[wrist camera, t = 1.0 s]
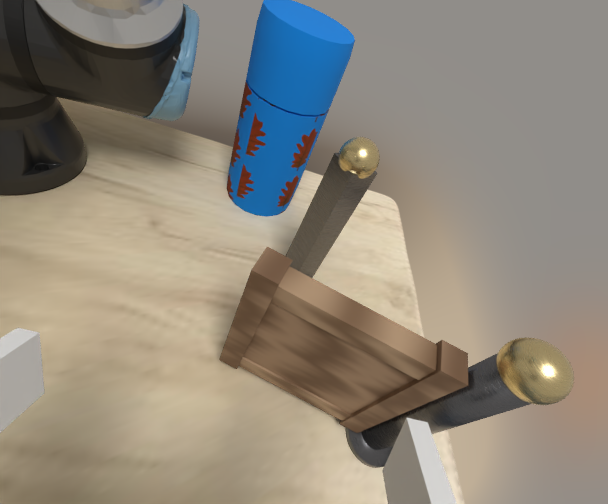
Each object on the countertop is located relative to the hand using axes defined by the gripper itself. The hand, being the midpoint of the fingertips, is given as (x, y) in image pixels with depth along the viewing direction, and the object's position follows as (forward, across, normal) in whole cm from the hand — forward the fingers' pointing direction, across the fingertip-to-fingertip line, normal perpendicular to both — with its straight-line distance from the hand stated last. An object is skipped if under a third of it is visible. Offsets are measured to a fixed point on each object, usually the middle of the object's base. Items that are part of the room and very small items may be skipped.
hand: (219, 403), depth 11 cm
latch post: (+30, +1, -9) cm, 31 cm away
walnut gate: (+17, +4, -15) cm, 23 cm away
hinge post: (+17, +14, -18) cm, 28 cm away
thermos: (+43, -7, -1) cm, 44 cm away
